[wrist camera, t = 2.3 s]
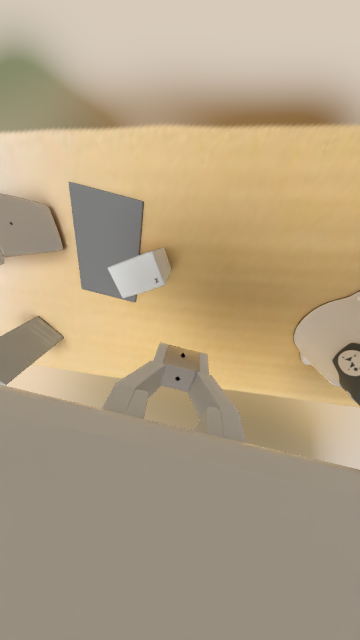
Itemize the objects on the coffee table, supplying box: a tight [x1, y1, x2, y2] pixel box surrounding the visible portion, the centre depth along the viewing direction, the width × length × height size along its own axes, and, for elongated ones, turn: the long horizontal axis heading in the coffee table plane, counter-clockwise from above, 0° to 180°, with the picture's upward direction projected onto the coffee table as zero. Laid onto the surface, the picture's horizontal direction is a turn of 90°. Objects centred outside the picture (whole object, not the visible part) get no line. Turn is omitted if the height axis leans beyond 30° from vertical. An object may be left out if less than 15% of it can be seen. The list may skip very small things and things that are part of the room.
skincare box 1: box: [0, 317, 64, 386], centre depth 34 cm, size 8×7×16 cm
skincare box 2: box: [108, 248, 171, 298], centre depth 23 cm, size 6×4×12 cm
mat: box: [69, 182, 144, 302], centre depth 28 cm, size 12×18×1 cm, turn 167°
